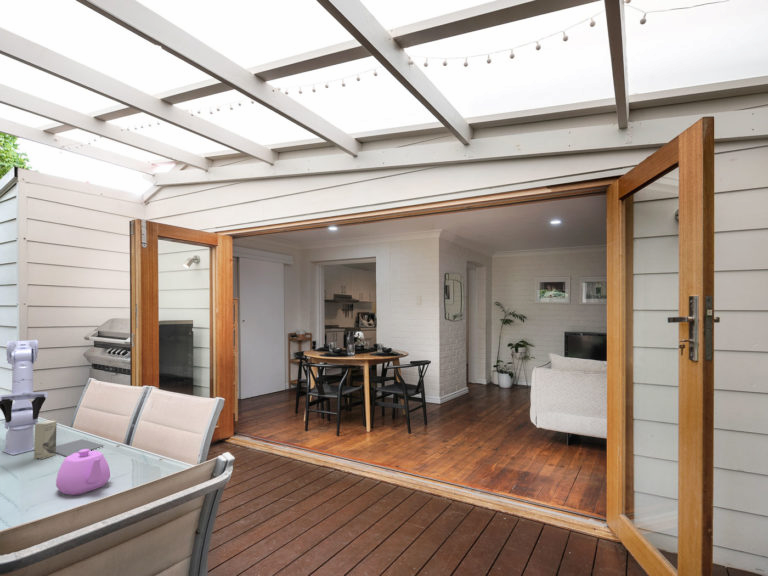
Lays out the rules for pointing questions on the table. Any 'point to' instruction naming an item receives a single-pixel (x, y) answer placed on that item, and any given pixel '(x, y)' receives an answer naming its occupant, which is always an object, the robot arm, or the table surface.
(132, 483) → the table surface
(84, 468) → the teapot
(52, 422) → the box
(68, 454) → the mat
